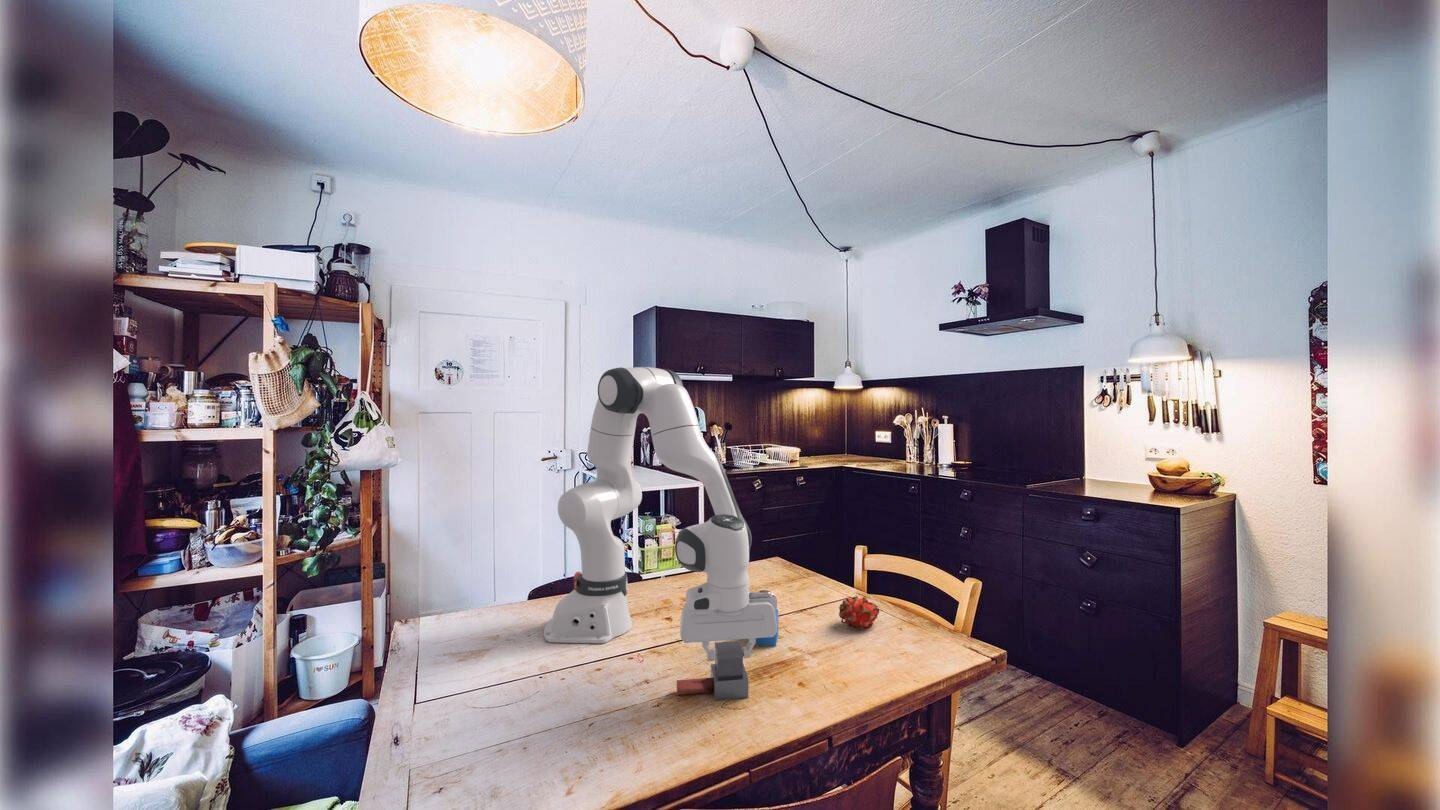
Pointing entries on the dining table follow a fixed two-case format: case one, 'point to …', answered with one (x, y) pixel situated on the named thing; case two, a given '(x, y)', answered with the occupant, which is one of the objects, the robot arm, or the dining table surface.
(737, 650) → the grey block
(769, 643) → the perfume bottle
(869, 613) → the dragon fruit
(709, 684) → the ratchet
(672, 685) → the dining table surface
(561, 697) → the dining table surface
